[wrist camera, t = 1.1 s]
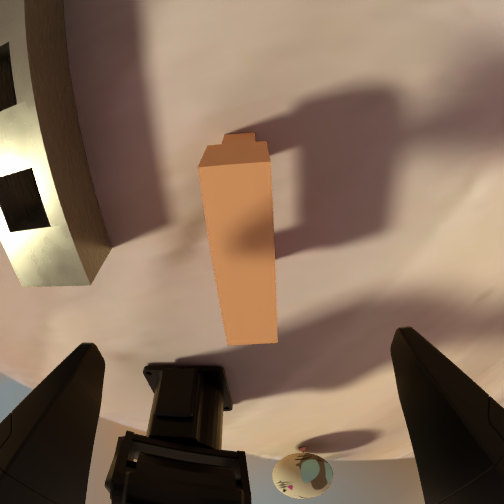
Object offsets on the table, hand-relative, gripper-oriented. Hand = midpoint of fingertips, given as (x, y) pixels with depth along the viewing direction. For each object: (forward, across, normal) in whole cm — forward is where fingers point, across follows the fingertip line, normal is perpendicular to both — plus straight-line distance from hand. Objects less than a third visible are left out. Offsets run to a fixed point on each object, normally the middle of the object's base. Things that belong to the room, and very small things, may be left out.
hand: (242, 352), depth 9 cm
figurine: (+10, -4, +32) cm, 33 cm away
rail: (+9, +10, -6) cm, 15 cm away
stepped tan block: (+9, 0, 0) cm, 9 cm away
